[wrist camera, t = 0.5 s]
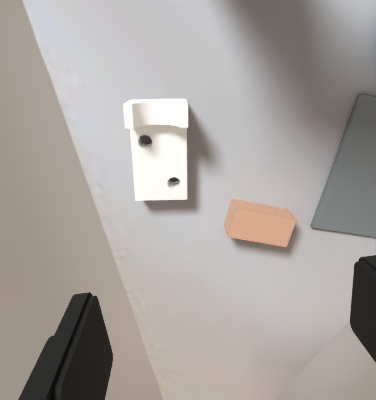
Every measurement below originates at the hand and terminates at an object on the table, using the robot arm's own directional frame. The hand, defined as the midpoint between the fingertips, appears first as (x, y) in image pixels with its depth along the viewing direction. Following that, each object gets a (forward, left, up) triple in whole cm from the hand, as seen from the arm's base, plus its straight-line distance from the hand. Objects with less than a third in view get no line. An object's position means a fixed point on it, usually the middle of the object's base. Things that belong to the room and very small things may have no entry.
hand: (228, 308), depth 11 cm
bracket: (+2, -3, -35) cm, 35 cm away
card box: (+11, +13, -34) cm, 38 cm away
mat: (+1, +29, -34) cm, 45 cm away
